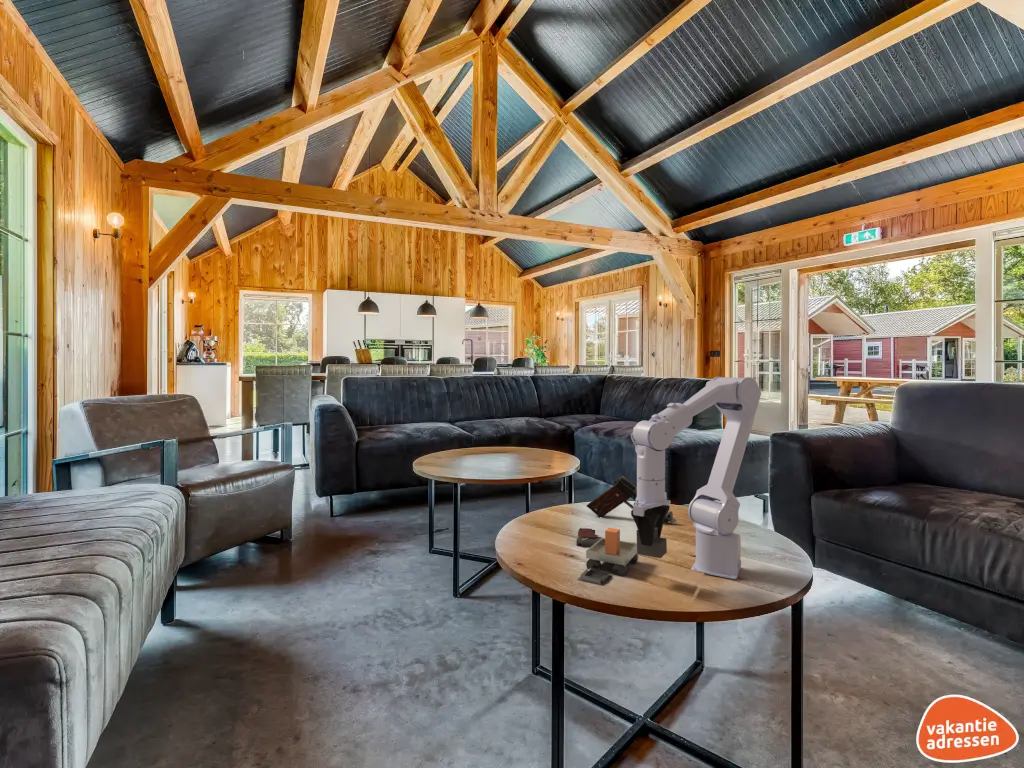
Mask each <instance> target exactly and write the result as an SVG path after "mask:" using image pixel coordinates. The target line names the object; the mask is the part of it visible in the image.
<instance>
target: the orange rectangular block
mask: <svg viewBox="0 0 1024 768" xmlns="http://www.w3.org/2000/svg"><path fill="white" fill-rule="evenodd" d="M604 531H605V532H604V538H605V553H611V554H617V553H618V552H619V551H620V541H621V529H619V528H615V527H608V528H607V529H606V530H604Z"/></svg>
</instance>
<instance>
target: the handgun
mask: <svg viewBox="0 0 1024 768" xmlns="http://www.w3.org/2000/svg"><path fill="white" fill-rule="evenodd" d="M613 483H614V484H613V485H612V486H611V487H610V488H609V489H607V490H606V491H604V492H603V493H601V494H600V495H598V496H597V497H596V498H595V499H593V500H591V501H590V502H589V503H588V504H586V507H587V508H588V509H589V510H591V511H592V512H593V513H594V514H595V515H596V516H598V518H600V517H602V518H603V517H604V516H606V515H608V514H609V513H611V512H612V511H613V510H615V509H616V508H618V507H619V506H621V505H622V504H623V503H624V504H625V505H626V506H628V508H631V510H633V506H634V505H635V502H636V497H637V484H635V483H634V482H632V481H631V480H630V479H629V478H628V477H626V475H622V476H621V477H618V478H617V479H615V480H613ZM630 498H631V499H632V500H634V503H633V504H631V502H630V501H628V500H629V499H630ZM677 521H678V520H676V518H675V517H674V514H673V511H671V510H669V511H668V513H667V515H666V517H665V520H664V523H663V525H667V523H671V524H672V525H675V524H676V523H677Z"/></svg>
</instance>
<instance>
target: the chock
mask: <svg viewBox="0 0 1024 768" xmlns="http://www.w3.org/2000/svg"><path fill="white" fill-rule="evenodd" d="M667 541H668V540H667V538H665V537H661V536H660V537H658V528H656V527H655V531H654V539H653V543H652V546H647V545H642V544H641V541H640V537H639V532H638V529H636V544H637V554H638V555H640V556H645V557H646V556H647V557H652V558H656V559H662V557H663V556H665V555H666V554H667V551H668V549H667V548H668V546H667V543H668V542H667Z"/></svg>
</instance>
